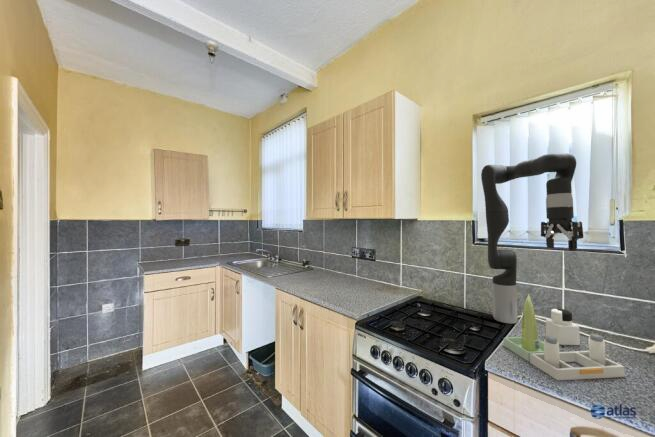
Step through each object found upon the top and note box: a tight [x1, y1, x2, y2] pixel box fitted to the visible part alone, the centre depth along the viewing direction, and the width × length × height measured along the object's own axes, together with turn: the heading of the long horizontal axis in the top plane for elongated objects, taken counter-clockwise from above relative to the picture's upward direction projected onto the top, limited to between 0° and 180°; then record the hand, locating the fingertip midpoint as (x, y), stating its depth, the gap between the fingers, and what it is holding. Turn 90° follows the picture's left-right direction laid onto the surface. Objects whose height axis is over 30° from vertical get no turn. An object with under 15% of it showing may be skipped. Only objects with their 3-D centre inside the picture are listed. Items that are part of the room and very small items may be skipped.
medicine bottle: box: [545, 308, 581, 346], centre depth 99 cm, size 7×7×12 cm
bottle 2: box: [588, 333, 607, 366], centre depth 81 cm, size 4×4×10 cm
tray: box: [503, 336, 561, 363], centre depth 91 cm, size 11×11×3 cm
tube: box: [521, 293, 540, 352], centre depth 91 cm, size 6×5×20 cm
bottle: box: [543, 335, 560, 369], centre depth 80 cm, size 4×4×10 cm
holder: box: [530, 350, 626, 381], centre depth 80 cm, size 10×21×3 cm, turn 93°
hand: (561, 249), depth 95 cm, fingers open, 8 cm apart
